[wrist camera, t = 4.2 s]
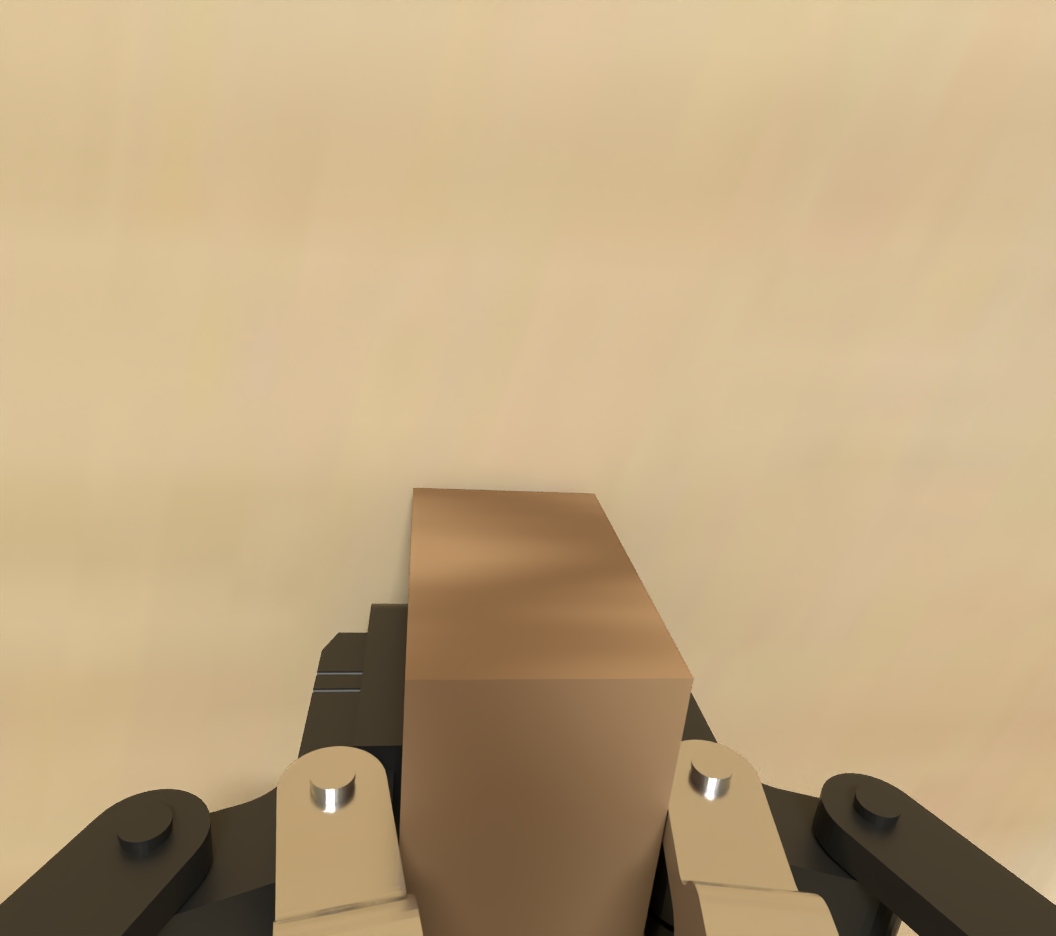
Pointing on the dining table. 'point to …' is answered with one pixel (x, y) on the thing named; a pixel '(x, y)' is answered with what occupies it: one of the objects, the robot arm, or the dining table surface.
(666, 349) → the dining table surface
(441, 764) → the wooden mallet
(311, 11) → the dining table surface
